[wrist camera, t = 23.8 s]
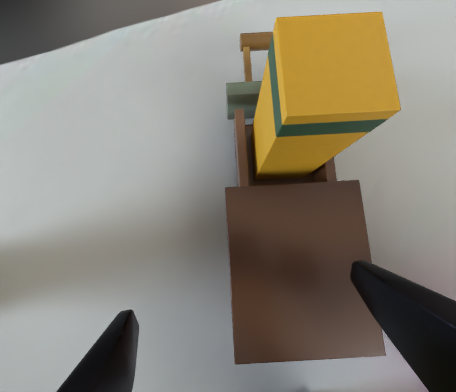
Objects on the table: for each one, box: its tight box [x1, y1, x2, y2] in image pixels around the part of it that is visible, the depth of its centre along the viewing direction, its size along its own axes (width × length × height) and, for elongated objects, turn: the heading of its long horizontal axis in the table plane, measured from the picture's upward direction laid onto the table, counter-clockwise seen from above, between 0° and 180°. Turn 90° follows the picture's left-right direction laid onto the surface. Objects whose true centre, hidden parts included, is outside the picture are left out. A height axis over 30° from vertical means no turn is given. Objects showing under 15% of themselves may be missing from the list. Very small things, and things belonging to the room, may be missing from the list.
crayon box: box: [251, 12, 401, 180], centre depth 15 cm, size 5×5×12 cm
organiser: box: [225, 180, 386, 364], centre depth 19 cm, size 12×10×6 cm
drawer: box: [226, 32, 337, 187], centre depth 21 cm, size 17×9×4 cm, turn 3°
